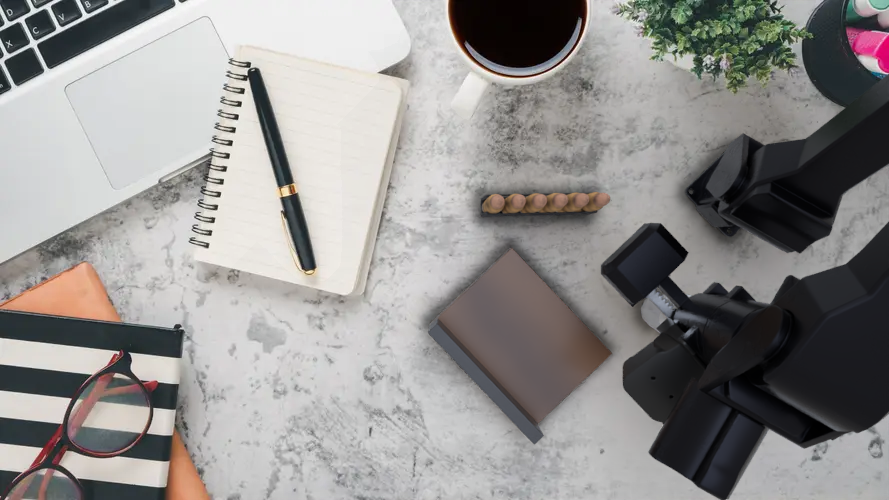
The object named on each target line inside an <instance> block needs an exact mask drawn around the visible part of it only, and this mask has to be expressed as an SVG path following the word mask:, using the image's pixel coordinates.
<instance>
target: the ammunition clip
mask: <svg viewBox="0 0 889 500" xmlns="http://www.w3.org/2000/svg"><path fill="white" fill-rule="evenodd" d="M610 202H611V196H610V195H609V193H606V192H599V191H593V192H578V191H577V192H552V193H547V192H546V193H539V192H535V193H504V194H502V193H501V194H498V193H493V194H485V195H484V196H483V197H481V198H480V217H481V218H489V217H491V218H492V217H493V218H494V217H497V218H499V217H541V216H545V217H547V216H548V217H549V216H587V215H593V214H597V213H598V211H600V210H601V209H602V208H603V207H605V206H607V205H608V204H609V203H610Z"/></svg>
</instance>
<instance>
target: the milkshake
mask: <svg viewBox="0 0 889 500" xmlns="http://www.w3.org/2000/svg"><path fill="white" fill-rule="evenodd" d="M685 294H686V295H687V296H688V297H691V296H693V295H694V294H693V295H691V294H687V293H685ZM662 295H663V298H662V299H664V298H666V299H667V300H666V302H668V301H669V302H670V304H669V306H670V305H673V308H672V309H674V308H675V309H678V308H677V307H676V306H675V305H674V304H673V303H672V302H671V301H670V300H669V299H668V298H667V297H666V296H665V294H662ZM666 302H665V303H666ZM676 311H677V310H676ZM640 312H641V313H640V314H641V318H642V320H643V321H644V322H645V323H646V324H647V325H648V326H649V327H650V328H651V329H653V330H655V332H658V333H659V335H660V334H661V333H660V332H659V331H658V330H657V329H656V328H657V327H658V326H659V325H660V324H661V323H662V322H663V321H664V320H666V319H667V317H666V316H665V315H664V314H663V313H662V312H661V311H660V310H659V309H658V308H657V307H656V306H655V305H654V304H653V303H652V301H651V300H650V299H649V298H645V299H644V301H643V303H642V305H641V306H640ZM675 313H676V312H675Z"/></svg>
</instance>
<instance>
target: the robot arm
mask: <svg viewBox="0 0 889 500" xmlns="http://www.w3.org/2000/svg"><path fill="white" fill-rule="evenodd" d="M888 166H889V73H888V74H886V75H885V76H884V77H882V78H881V79H880V80H879V81H878V82H875V84H874V85H872V86H871V87H870V88H869V89H867V90H866V91H865V92H864V93H862V94H861V95H859V97H857V98H856V99H855V100H853V101H852V102H850V103H849V104H848V105H847V106H846V107H844V108H843V109H842V110H840V111H839V112H838V113H836V115H834V116H833V117H832V118H831V119H829V120H828V121H827V122H825V123H824V124H823V125H822V126H820V127H819V128H818V129H816V130H815V131H814V132H812V134H810V135H809V136H807V137H806V138H800V139H794V140H793V139H792V140H786V141H779V142H771V143H767V144H764V143H761V141H758V140H757V139H755V138H753V137H751V136H750V135H748V134H746V133H744V132H742V133H741V134H740V135H739V136H737V137H736V138H734V139H733V140H732V141H731V142H730V143H729V145H728V146H727V148H726V150H725V151H724V152H723V153H722V154H720V155H719V156H718V157H717V158H716V159H715V160H714V161H713V162H712V163H711V164H709V166H708V167H706V169H705V170H703V171H702V172H701V173H700V174H699V176H697V177H696V178H695V179H694V180H693V181H692V182H690V184H689V185H687V186H686V188H685V190H684V193H685V195H686V196H687V197H688V199H690V201H691V202H692V203H693V204H694V205H695V210H696V211H697V212H698V213H699V214H700V215H701V216H702V218H703V219H705V221H707V223H708V224H710V225H711V227H712V228H717V229H718V230H719V231H720V232H721V233H722V234H723V235H724V236H725V237H727V238H730V237H731V238H732V237H733V236H734V235H736V234H737V233H738V232H739V231H740V230H741V229H743V231H746V232H748V233H749V234H751V235H753V236H754V237H757V238H758V239H761V240H762V241H764V242H766V243H767V244H769V245H771V246H772V247H775V248H777V249H778V250H780V251H781V252H784V253H786V254H791V253H795V252H796V253H798V255H799V254H802V253H803V252H805V250H806V249H807V248H809V247H810V246H811V245H813V244H814V243H816V242H818V241H819V240H822V239H825V238H827V237H829V236H830V235H831V233H832V231H833V227H834V224H835V220H836V218H837V214H838V211H839V208H840V205H841V202H842V199H843V196H844V195H845V194H846V193H847V192H849V191H851V190H852V189H854V188H856V187H857V186H858V185H860V184H861V183H863V182H864V181H866V180H867V179H869V178H871V177H872V176H874V175H875V174H877V173H878V172H880V171H881V170H884V169H885V168H886V167H888ZM690 190H692V192H690ZM729 230H730V233H729ZM689 253H690V252H689V251H688V250H687V249H686V248H685V247H684V246H683V245H682V244H681V243H680V241H679V240H677V239H676V237H675V236H674V235H673V234H672V233H671V232H670V231H669V230H668V229H667V228H666V227H665V225H663V224H662V222H648V223H647V222H646V223H645V222H644V224H642V225H641V226H640V227H639V228H638V229H637V230H635V232H634V233H632V235H630V237H628V238H627V239H626V240H625V241H623V243H622V244H621V245H620V246H619V247H618V248H617V249H615V251H613V253H612V254H611V255H610V256H608V257H607V258H606V259H605V260H604V261H603V262H602V263H601V264H600V275H601V276H602V277H603V279H605V280H606V281H607V283H609V285H611V287H612V288H613V289H614V290H615V291H616V292H617V293H618V294H619V295H620V297H622V298H623V299H624V300H625V301H626V302H627V304H629V305H630V306H631V307H633V308H634V307H635V306H636V305H637V304H638V303H639V302H641V301H643V300H645V299H647V298H649V299H650V300H651V301H652V303H653V304H654V305H655V306H656V307H657V308H658V309H659V310H660V311H661V312H662V313H663V314H664V315H665V316H666V317H667V319H666V320H664V321H663V322H662V323H661V324H660V325H659V326H658V327H657V328H656V329H657V330H658V331H659V332H660V333H661V334H660V333H659V332H658V333H659V334H658V335H657V336H656V337H655V338H654V339H653V340H652V341H651V342H649V343H648V344H647V345H645V346H644V347H643V348H641V349H640V350H639V351H637V352H636V353H635V354H633V355H632V356H630V357H628V358H627V359H626V360H625V361H624V362H623V364H622V388H623V390H624V392H625V393H626V394H627V395H628V396H629V397H630V398H631V399H632V400H633V401H634V402H635V403H636V404H637V405H638V406H639V408H640V409H642V410H643V412H644V413H645V414H646V415H647V416H648V417H649V418H650V419H651V420H653V421H656V422H659V423H661V424H662V427H661V429H660V430H659V432H658V433H657V435H656V437H655V439H654V441H653V442H652V444H651V445H650V448H649V450H648V451H647V453H648V454H649V456H650V457H652V459H654V460H656V461H657V462H659V463H661V464H663V465H664V466H666V467H668V468H669V469H672V470H673V471H675V472H677V473H678V474H679V475H681V476H682V477H684V478H686V479H687V480H689V481H690V482H692V483H693V485H694V486H696V488H698V489H700V490H702V491H704V492H705V493H707V494H709V495H710V496H713V497H714V498H716V499H718V500H730V499H731V497H732V495H733V494H734V492H735V490H736V488H737V486H738V485H739V483H740V481H741V479H742V477H743V476H744V474H745V472H747V471H746V470H747V469H748V468H749V465H750V464H751V462H752V460H753V458H754V457H755V455H756V453H757V452H758V450H759V449H760V446H761V444H762V443H763V441H764V440H765V438H766V436H767V434H768V432H769V431H771V432H773V433H775V434H777V435H779V436H780V437H782V438H784V439H785V440H787V441H789V442H791V443H793V444H794V445H796V446H798V447H800V448H801V449H807V448H811V447H813V446H816V445H819V444H821V443H824V442H828V441H830V440H831V441H835V440H837V439H838V438H841V436H843V435H846V434H849V433H852V432H853V433H855V434H860V433H862V432H864V431H867V430H869V429H871V428H873V427H875V426H876V425H878V424H879V423H881V422H882V420H884V419H885V418H886V417H887V416H888V415H889V221H887V222H886V223H885V224H884V225H883V226H882V228H881V229H880V230H879V231H878V232H877V233H876V234H875V235H873V237H872V238H871V239H870V240H869V241H868V243H867V244H866V245H865V246H864V247H862V249H861V250H859V252H857V253H856V254H855V255H854V256H853V257H852V258H851V259H849V260H848V261H847V262H846V263H844V264H841V265H838V266H834V267H831V268H828V269H825V270H821V271H818V272H815V273H812V274H809V275H806V276H804V277H802V278H799V277H797V276H795V275H793V274H788V275H786V276H785V278H784V279H783V281H782V283H781V285H780V286H779V288H778V290H777V291H776V293H775V295H774V296H773V298H772V300H771V301H770V303H768V302H763V301H758V300H756V299H755V298H754V297H753V296H752V295H751V294H750V293H749V291H748V290H746V289H745V288H744V286H742V285H735V286H733V288H732V289H731V290H730V291H728V290H727V289H726V288H725V287H724V286H723V285H722V284H721V283H720V282H717V281H713V282H712V283H711V284H710V285H709V286H708V287H707V288H706V289H705V290H704V291H703V292H697V293H694V294H693V296H691V297H688V296H687V295H686V294H687V293H685V291H683V289H682V288H681V287H680V286H679V285H677V284H676V282H675V281H674V280H673V279H672V278H671V274H672V273H673V272H674V271H675V270H677V268H679V267H680V266H681V265H682V264H683V263H684V262H685V261H686V259H687V257H688V256H689ZM658 289H659V290H658ZM657 290H658V291H657ZM661 292H662V294H661ZM663 295H665V296H666V297H667V298H668V299H669V300H670V301H671V302H672V303H673V304H674V305H675V306H676V307H677V308H678V309H675V308H674V309H672V308H673V305H670V306H669V304H670V302H669V301H668V302H666V300H667V299H666V298H664V299H662V298H663ZM665 302H666V303H665ZM676 310H677V311H676ZM675 312H676V313H675Z"/></svg>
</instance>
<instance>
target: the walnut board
mask: <svg viewBox="0 0 889 500" xmlns="http://www.w3.org/2000/svg"><path fill="white" fill-rule="evenodd" d="M427 334H428V335H429V336H430V337H431V338H432V339H433V340H434V341H435V342H436V343H437V344H438V345H439V346H440V347H441V348H442V350H443V351H444V352H446V354H447V355H448V356H449V357H450V358H451V359H452V360H453V361H454V362H455V363H456V364H457V365H458V366H459V367H460V368H461V369H462V370H463V371H464V372H465V373H466V375H467V376H468V377H469V378H470V379H471V380H472V381H473V382H474V383H475V384H476V385H477V386H478V387H479V389H481V391H483V393H484V394H486V396H487V397H488V398H489V399H490V400H491V401H492V402H493V403H494V404H495V405H496V406H497V407H498V408H499V409H500V410H501V411H502V413H503V414H504V415H506V417H507V418H508V419H509V420H510V421H511V422H512V423H513V424H514V425H515V426H516V427H517V428H518V429H519V430H520V431H521V433H522V434H523V435H525V437H526V438H527V439H528V440H529V441H530V442H531V443H532V444H533V445H536V444H537V443H538V442H539V441H541V439H542V438H544V432H543V430H542V429H541V427H540V425H539V423H540V422H542V420H544V419H545V418H546V417H547V416H548V415H549V414H550V413H551V412H552V411H553V410H554V409H555V408H556V407H557V406H559V405H560V403H562V401H564V400H565V399H566V398H567V397H568V396H569V395H570V394H571V393H572V392H573V391H574V390H575V389H577V387H579V386H580V385H581V384H582V383H583V382H584V381H585V380H586V379H587V378H588V377H589V376H590V375H592V373H593V372H594V371H595V370H597V368H599V367H600V366H601V365H602V364H603V363H604V362H605V361H606V360H607V359H608V358H609V357H611V356H612V354H613V352H612V351H611V350H610V349H609V348H608V347H607V346H606V345H605V344H604V342H602V341H601V340H600V339H599V337H598V336H597V335H596V334H595V333H593V331H592V330H591V329H590V328H589V327H588V326H587V325H586V324H585V323H584V322H583V321H582V320H581V319H580V317H578V316H577V314H576V313H575V312H574V311H573V310H572V309H571V308H570V307H569V306H568V305H567V304H566V303H565V302H564V301H563V300H562V299H561V297H560V296H559V295H558V294H557V293H556V292H555V291H554V290H553V289H552V288H551V287H550V286H549V285H548V284H547V283H546V282H545V281H544V280H543V278H541V276H539V274H537V272H536V271H535V270H534V269H533V268H532V267H531V266H530V264H528V263H527V262H526V261H525V259H523V258H522V257H521V256H520V254H519V253H518V252H517V251H516V250H515V249H514V248H513V247H508V248H507V249H506V250H505V252H503V253H502V254H501V255H500V256H499V257H498V258H497V259H496V260H495V261H494V262H492V264H491V265H489V267H487V268H486V269H485V270H484V271H483V272H482V273H480V275H479V276H478V277H477V278H476V279H475V280H474V281H473V282H471V283H470V284H469V285H468V286H467V287H466V288H465V289H464V290H463V291H462V292H461V293H460V294H459V295H458V296H457V297H456V298H455V299H454V300H452V301H451V303H449V304H448V305H447V306H446V307H445V308H444V309H443V310H442V311H441V312H440V313H439V314H438V315H436V316H435V318H433V320H431V321H430V322H429V325H428V328H427Z"/></svg>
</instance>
